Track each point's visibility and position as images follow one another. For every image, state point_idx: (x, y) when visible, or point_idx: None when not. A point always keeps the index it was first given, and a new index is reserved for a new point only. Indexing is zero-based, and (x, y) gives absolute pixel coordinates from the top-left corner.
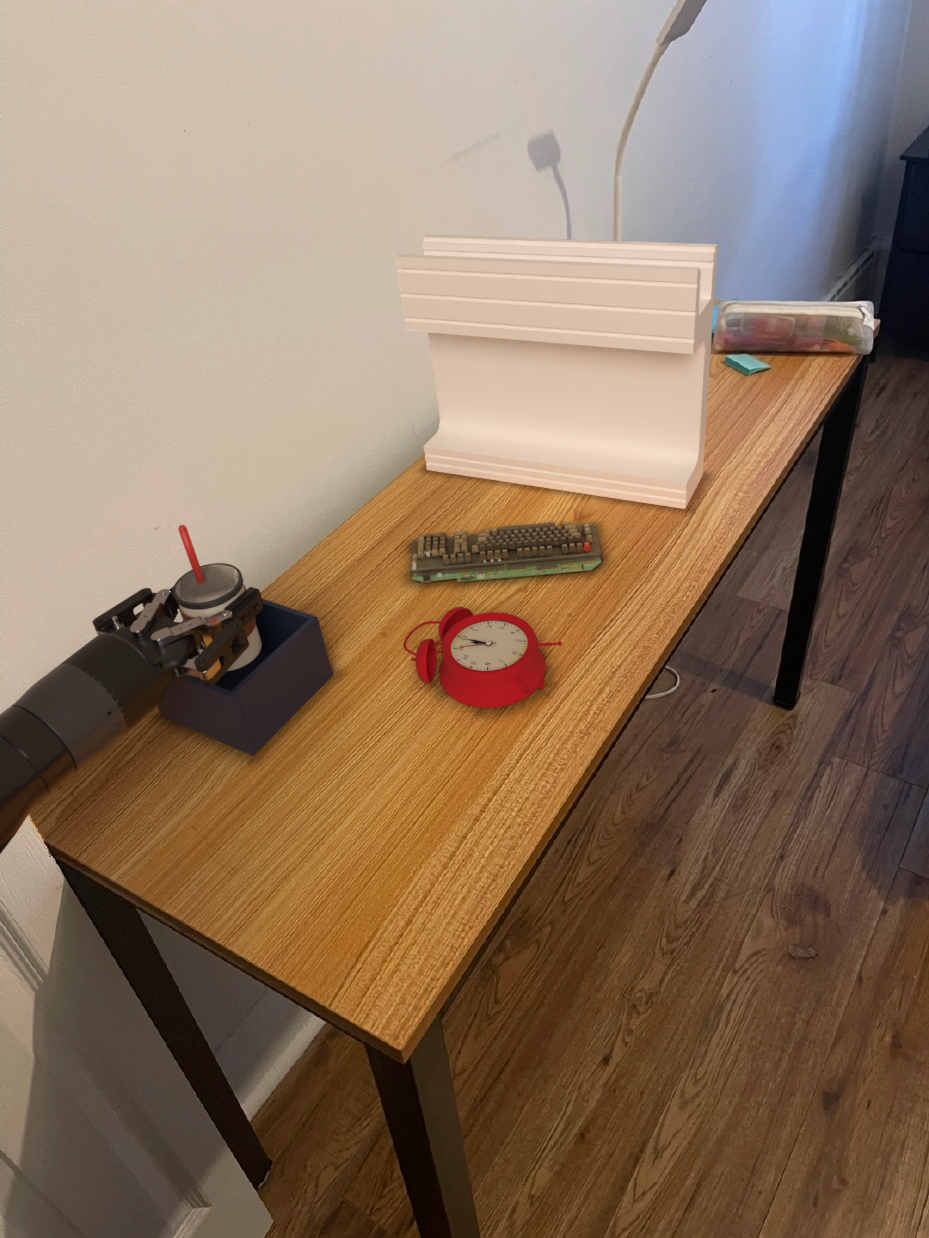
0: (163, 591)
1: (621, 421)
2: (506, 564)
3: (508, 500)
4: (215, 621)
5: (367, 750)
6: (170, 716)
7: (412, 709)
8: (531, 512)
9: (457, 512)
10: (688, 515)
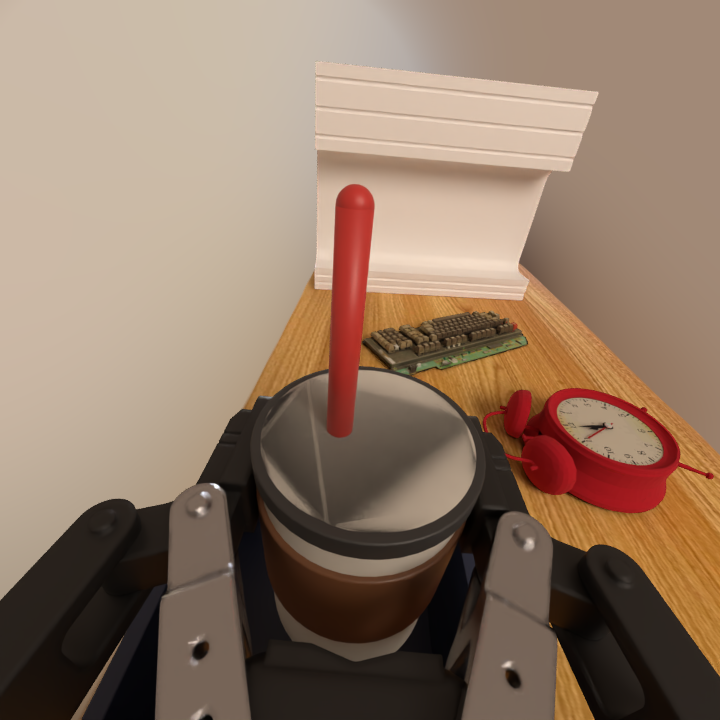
0: (200, 500)
1: (469, 242)
2: (464, 348)
3: (402, 304)
4: (538, 586)
5: None
6: None
7: (576, 543)
8: (428, 310)
9: (372, 315)
10: (528, 303)
